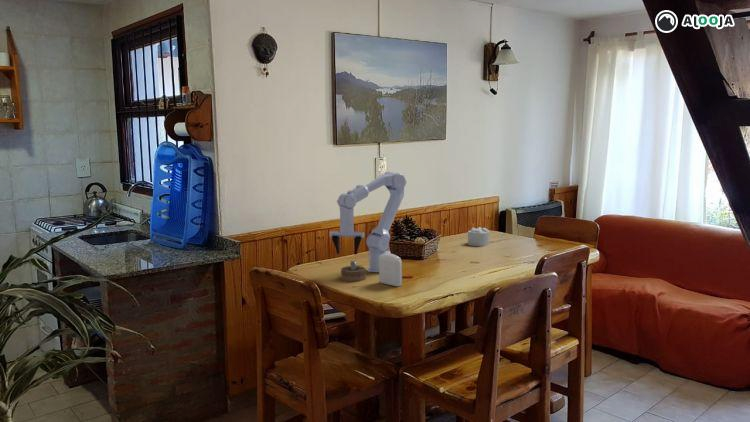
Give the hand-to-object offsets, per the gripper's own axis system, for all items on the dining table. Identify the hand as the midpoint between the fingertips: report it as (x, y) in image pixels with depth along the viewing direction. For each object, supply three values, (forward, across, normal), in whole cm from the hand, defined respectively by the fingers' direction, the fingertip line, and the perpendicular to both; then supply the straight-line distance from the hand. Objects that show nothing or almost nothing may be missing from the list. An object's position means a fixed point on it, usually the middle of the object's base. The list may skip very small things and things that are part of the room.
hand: (347, 253), depth 247 cm
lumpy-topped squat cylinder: (+10, +57, +77) cm, 96 cm away
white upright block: (+10, +20, -11) cm, 25 cm away
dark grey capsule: (+9, +4, -4) cm, 11 cm away
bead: (+9, +4, -4) cm, 11 cm away
